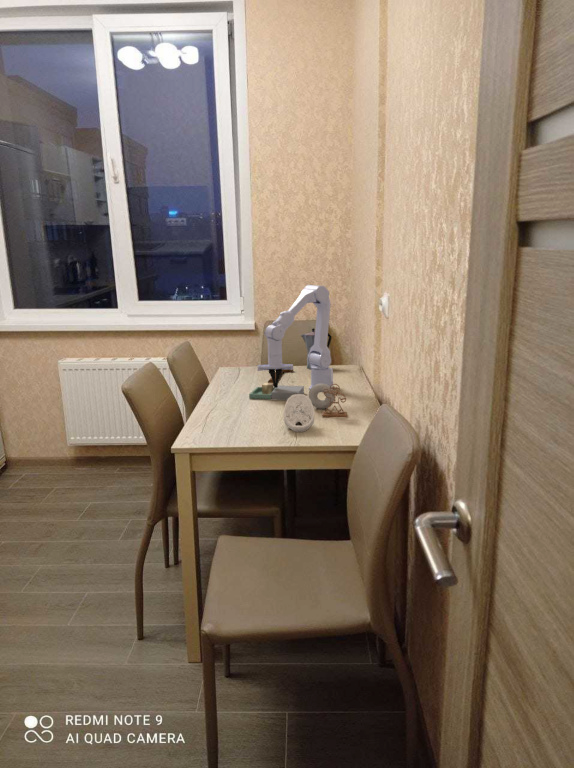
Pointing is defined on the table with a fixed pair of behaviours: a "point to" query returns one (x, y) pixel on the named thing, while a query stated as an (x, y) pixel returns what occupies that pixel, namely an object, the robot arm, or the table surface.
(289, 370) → the hammer
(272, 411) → the table surface
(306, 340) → the moka pot
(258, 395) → the box
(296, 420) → the skull bowl
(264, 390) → the maple block
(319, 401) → the donut
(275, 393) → the slate plate
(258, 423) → the table surface
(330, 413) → the gingerbread man figurine
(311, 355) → the robot arm
